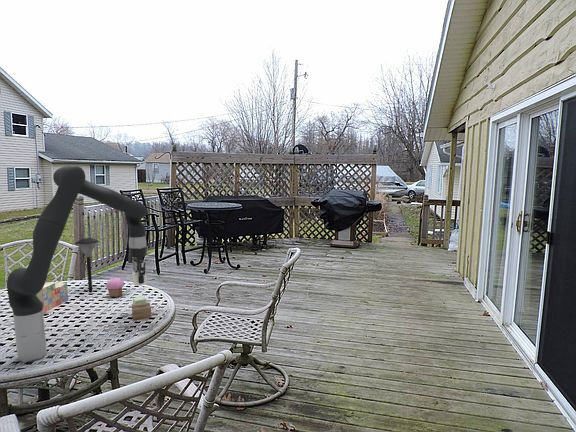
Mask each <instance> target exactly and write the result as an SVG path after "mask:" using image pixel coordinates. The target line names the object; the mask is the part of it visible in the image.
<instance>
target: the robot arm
mask: <svg viewBox="0 0 576 432" xmlns="http://www.w3.org/2000/svg"><path fill="white" fill-rule="evenodd" d="M52 178H53V182H54V184H55V185H56V186H57V189H56V192H55V194H54V196H53V197H52V199H51V200H50V201H49V203H47V205H46V206H45V207H44V209H43V211H41V213H40V215H39V217H38V219H37V221H36V223H35V226H34V229H33V233H32V255H31V259H30V261H29V263H28V265H27V268H26V267H25V268H24V267H18V268H15V269H14V270H12V271H11V272H10V273H9V275H8V276H7V280H6V290H7V291H6V292H7V298H8V304H9V306H10V309H12V316H13V325H14V337H15V346H16V347H15V348H16V357H17V360H18V361H19V362H22V363H23V364H24V363H27V362H31V361H36V360H40V359H43V357H45V355H47V352H48V351H47V341H46V340H47V339H46V329H45V328H46V327H45V318H44V317H45V316H44V314H45V313H43V304H42V302H41V301H40V300H39V299H38V297H37V296H36V294H37V293H39V292H40V291H41V290H42V288H43V287H44V284H45V283H47V279H48V274H49V271H50V267H51V263H52V260H53V258H54V255H55V252H56V249H57V247H58V244H59V242H60V239H61V237H62V235H63V232H64V230H65V228H66V224H67V222H68V220H69V217H70V214H71V211H72V210H73V206H74V204H75V201H76V199H77V197H78V196H79V195H81V196H84V197H87V198H90V199H92V200H94V201H97V202H98V203H101V204H103V205H105V206H107V207H109V208H111V209H113V210H116V211H120V212H123V213H124V216H125V220H126V224H127V226H128V249H129V250H128V251H129V253H128V255H129V257H130V258H131V260H132V269H133V271H134V272H133V273H135V272H138V280H139V284H142V283H144V275H145V273H146V262H145V260H144V257H146V256H147V255H148V250H147V248H148V247H147V238H146V226H145V224H144V223H143V221H142V220H141V219H143V218H145V217H146V215H147V214H148V213H147V212H148V209H147V206H145V205H144V203H142V202H139V201H137V200H134V199H132V198H130V197H127V196H125V195H124V194H122V193H119V192H118V191H116V190H113V189H111V188H109V187H105V186H103V185H98V184H95V183H93V182H91V181H89V180H87V179H86V173H85V170H84V169H83V168H82V167H81V166H78V165H74V164H70V165H65V166H62V167H60V168H57V169H56V170H55V171H54V172H53V176H52Z"/></svg>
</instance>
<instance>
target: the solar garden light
mask: <svg viewBox="0 0 576 432" xmlns="http://www.w3.org/2000/svg"><path fill="white" fill-rule="evenodd" d="M99 242H100V240H98V239H95V238H93V237H85V238H81V239H79V240H77V241H76V242H74V244H75V245H78V246H79V247H80V249H81V250H82V253H83V255H84V256H85V257H86V271H87V282H88V283H87V285H88V292H89V293H92V291H93V281H92V267H91V264H92V263H91V257H92V253H93V251H94V250H95V246H96V244H97V243H99Z"/></svg>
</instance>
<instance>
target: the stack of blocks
mask: <svg viewBox="0 0 576 432" xmlns="http://www.w3.org/2000/svg"><path fill="white" fill-rule="evenodd" d="M36 296H37V297H38V299H39V300H40V301H41V302H42V304H43V314H45V313H47V312H49V311H51V310H52V309H54V308H56V307H58V306H60V305H62V304H64V303H65V302H68V301H69V289H68V283H67V282H56V283H55V282H45V284H44V287H43V288H42V290H41V291H40V292H39V293H37V294H36Z"/></svg>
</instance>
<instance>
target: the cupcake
mask: <svg viewBox="0 0 576 432" xmlns="http://www.w3.org/2000/svg"><path fill="white" fill-rule="evenodd" d="M124 286H125V282H124V280H123V279H122V278H120V277H114V278H110V279H108V280H107V282H106V284H105V288H106V289H107V290H108V291H107V292H108V294H109V295H110V297H112V298H113V297H115V298H118V297H120V296H121V295H123V287H124Z"/></svg>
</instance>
